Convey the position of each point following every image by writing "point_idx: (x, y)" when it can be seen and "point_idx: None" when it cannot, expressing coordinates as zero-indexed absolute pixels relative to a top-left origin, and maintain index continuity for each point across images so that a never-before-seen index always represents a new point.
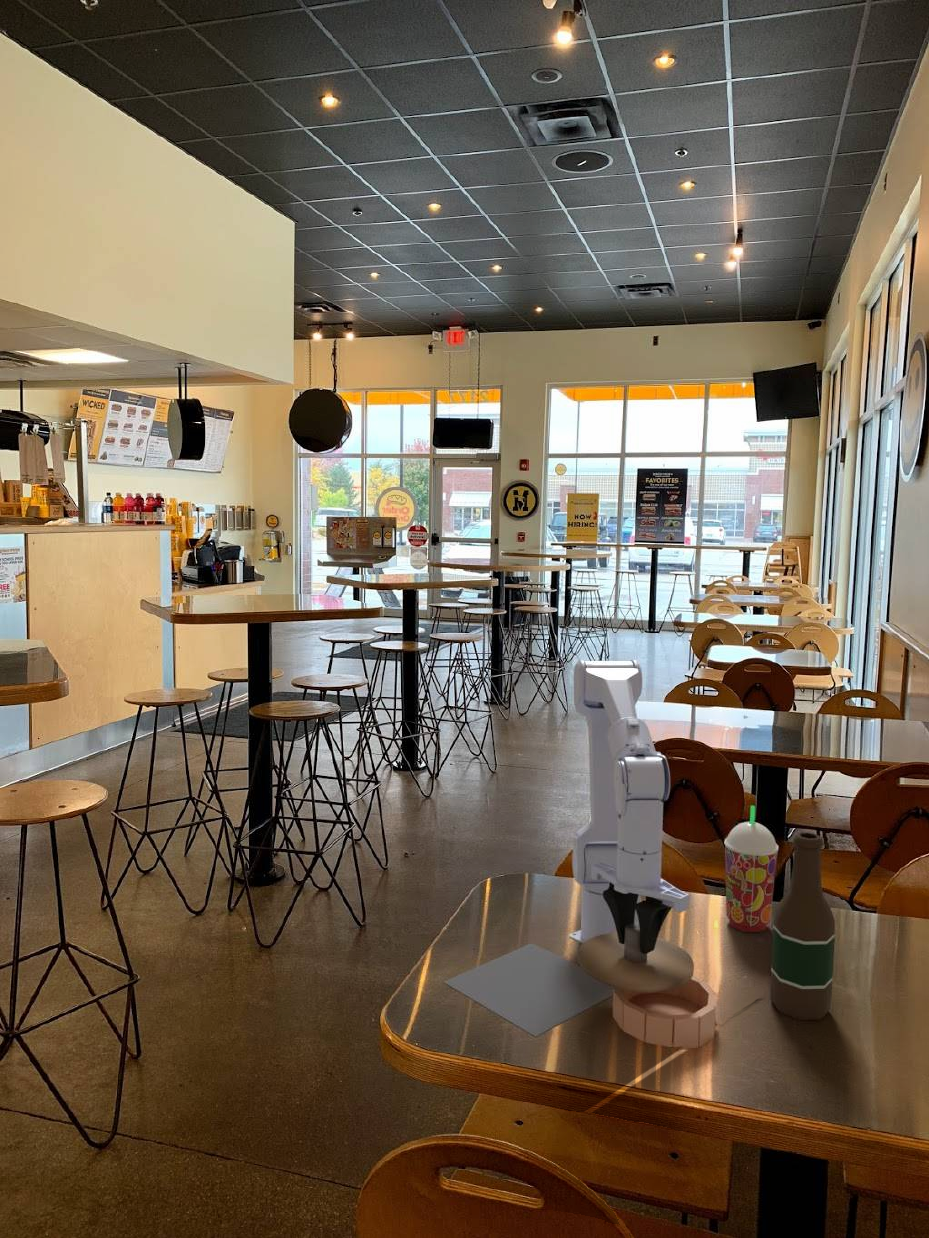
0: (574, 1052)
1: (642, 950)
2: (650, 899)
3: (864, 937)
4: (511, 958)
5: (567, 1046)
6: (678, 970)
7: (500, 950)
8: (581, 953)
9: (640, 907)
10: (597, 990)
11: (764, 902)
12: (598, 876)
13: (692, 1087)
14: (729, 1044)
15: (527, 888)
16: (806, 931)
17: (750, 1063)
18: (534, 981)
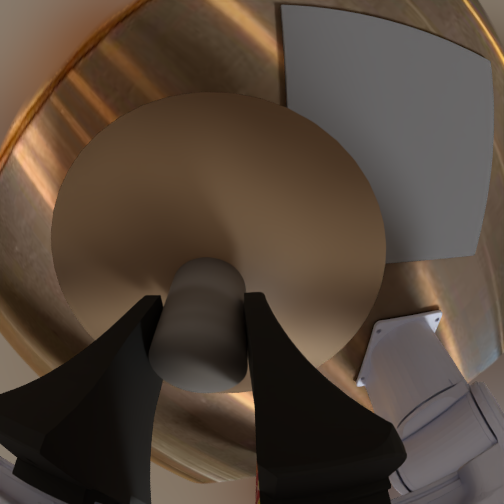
0: (200, 34)
1: (147, 299)
2: (53, 491)
3: (197, 468)
4: (478, 193)
5: (224, 35)
6: (98, 315)
7: (494, 206)
8: (346, 167)
9: (10, 432)
10: None
11: (257, 477)
12: (469, 481)
13: (34, 147)
14: None
15: (500, 338)
16: None
17: (43, 258)
18: (421, 157)
